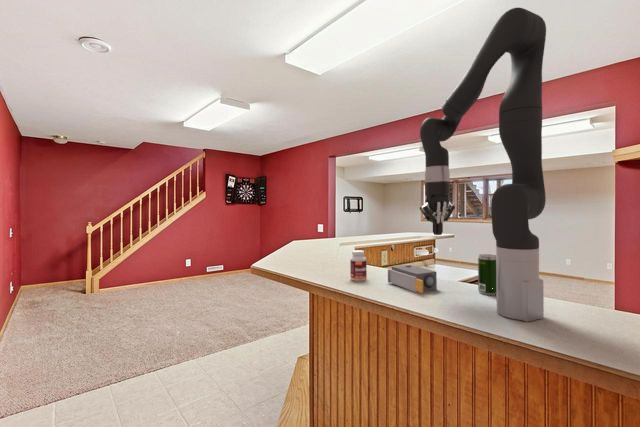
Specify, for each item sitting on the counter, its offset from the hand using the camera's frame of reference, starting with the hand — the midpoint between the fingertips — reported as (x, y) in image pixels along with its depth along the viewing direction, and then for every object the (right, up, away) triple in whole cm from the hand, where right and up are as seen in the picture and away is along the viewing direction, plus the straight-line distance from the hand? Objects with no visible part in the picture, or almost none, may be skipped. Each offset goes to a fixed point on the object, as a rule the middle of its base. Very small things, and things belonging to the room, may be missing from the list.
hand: (437, 234), depth 102 cm
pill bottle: (-23, -19, +20) cm, 36 cm away
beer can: (+15, -19, -2) cm, 24 cm away
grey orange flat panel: (-10, -18, +5) cm, 21 cm away
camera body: (-5, -19, +8) cm, 21 cm away
